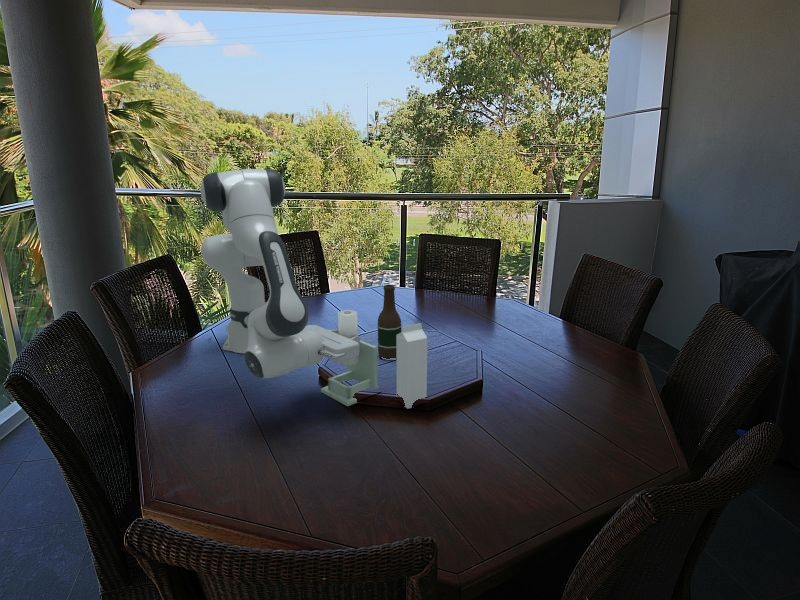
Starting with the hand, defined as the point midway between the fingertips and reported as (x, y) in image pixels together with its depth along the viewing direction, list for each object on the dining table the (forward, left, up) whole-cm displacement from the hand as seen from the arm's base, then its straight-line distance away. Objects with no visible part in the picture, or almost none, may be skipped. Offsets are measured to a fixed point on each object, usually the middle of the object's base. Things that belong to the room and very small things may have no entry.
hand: (350, 334), depth 146 cm
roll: (0, -1, -7) cm, 8 cm away
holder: (0, -1, -17) cm, 17 cm away
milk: (+11, +13, -17) cm, 25 cm away
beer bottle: (-21, +17, -17) cm, 32 cm away
